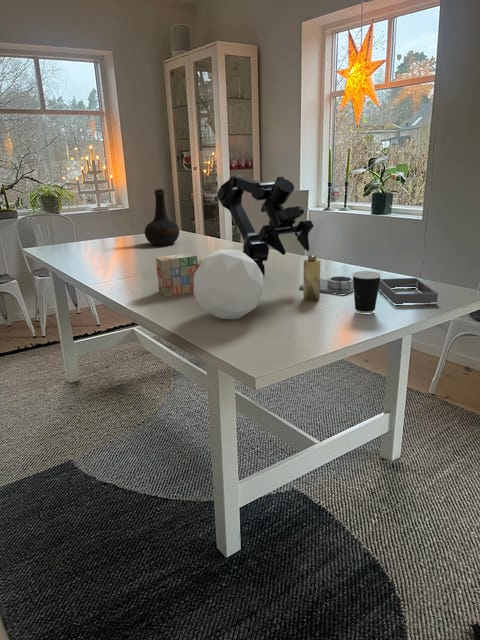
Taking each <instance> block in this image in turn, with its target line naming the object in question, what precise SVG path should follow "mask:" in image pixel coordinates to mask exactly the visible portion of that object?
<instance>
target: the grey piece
mask: <svg viewBox="0 0 480 640" xmlns="http://www.w3.org/2000/svg"><path fill="white" fill-rule="evenodd" d="M303 286H304V283H303V284H302V285H299V290H303ZM353 289H354V285H353V277H351V276H345V275H337V276H336V275H335V276H330V277H329V278H327V279H323V278H320V293H323V292H326V293H325V294H330V293H336V294H335V295H337V294H346V293H348V292H349V291H351V290H353ZM353 291H354V290H353ZM351 292H352V291H351ZM349 293H350V292H349ZM349 293H348V294H349ZM346 295H347V294H346Z"/></svg>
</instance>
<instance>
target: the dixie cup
mask: <svg viewBox="0 0 480 640" xmlns="http://www.w3.org/2000/svg"><path fill="white" fill-rule="evenodd" d="M351 276H352V278H353V285H354V290H353V297H354V309H355V312H356V311H357V312H359V313H372V312H373V311H375V309H376V306H377V305H376V304H377V300H378V293H379V290H378V289H379V283H380V279H381V278H382V276H383V275H382V273H380V272H378V271H370V270H361V271H360V270H359V271H354V272H352V273H351Z"/></svg>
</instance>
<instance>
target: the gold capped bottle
mask: <svg viewBox="0 0 480 640" xmlns="http://www.w3.org/2000/svg"><path fill="white" fill-rule="evenodd" d="M320 279H321V260H320V259H317V256H316V255H314V254H313V255H312V254H311V255H308V256H307V259H304V260H303V284H304V286H303V292H302V293H303V295H302V296H303V297H302V298H303V301H305V302H317V301H320V300H319V299H320V298H321V296H320V295H321V292H320Z"/></svg>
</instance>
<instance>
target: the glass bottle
mask: <svg viewBox="0 0 480 640" xmlns="http://www.w3.org/2000/svg"><path fill="white" fill-rule="evenodd" d="M153 194H154V195H155V210H154V211H155V212H154V217H153V220H152V221H151V222H149V223H148V224H147V225H146V226H145V228H144V236H145V239H146V240H147V241H148V242H149V243H150V244H151V245H153V246H169V245H172V244H174V243H175V242H176V241H177V240H178V238H179V235H180V227H179V226H178V224H177V223H176V222H174V221H172V220H171V219H169V217H168V214H167V213H168V212H167V208H166V207H167V206H166V201H165V194H166V192H165V191H164V189H161V188H160V189H159V188H158V189H154V193H153Z"/></svg>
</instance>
